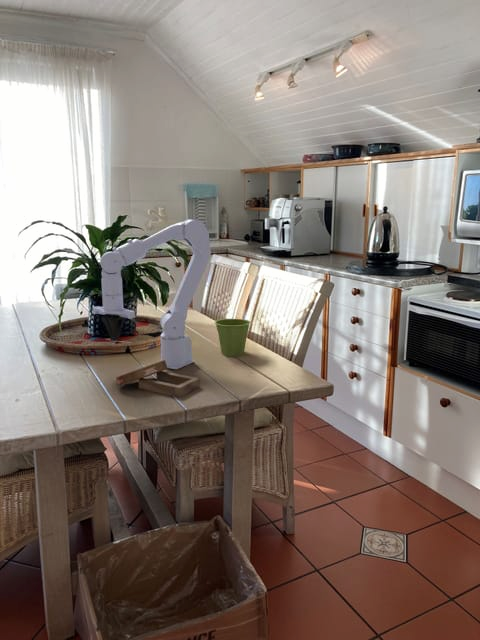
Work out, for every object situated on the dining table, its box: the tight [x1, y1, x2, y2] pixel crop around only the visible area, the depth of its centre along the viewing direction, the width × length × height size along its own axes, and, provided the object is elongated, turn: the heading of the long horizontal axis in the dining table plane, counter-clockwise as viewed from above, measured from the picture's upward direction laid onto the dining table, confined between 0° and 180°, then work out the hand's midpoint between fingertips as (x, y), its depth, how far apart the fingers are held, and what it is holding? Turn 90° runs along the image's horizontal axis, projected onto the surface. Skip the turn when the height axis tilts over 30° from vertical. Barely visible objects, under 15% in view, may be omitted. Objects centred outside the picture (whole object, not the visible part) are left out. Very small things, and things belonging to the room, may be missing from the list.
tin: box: [115, 360, 168, 387], centre depth 143 cm, size 15×3×8 cm
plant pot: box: [213, 318, 252, 357], centre depth 171 cm, size 12×12×11 cm
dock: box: [138, 370, 201, 398], centre depth 140 cm, size 9×14×2 cm, turn 60°
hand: (114, 340), depth 153 cm, fingers closed
